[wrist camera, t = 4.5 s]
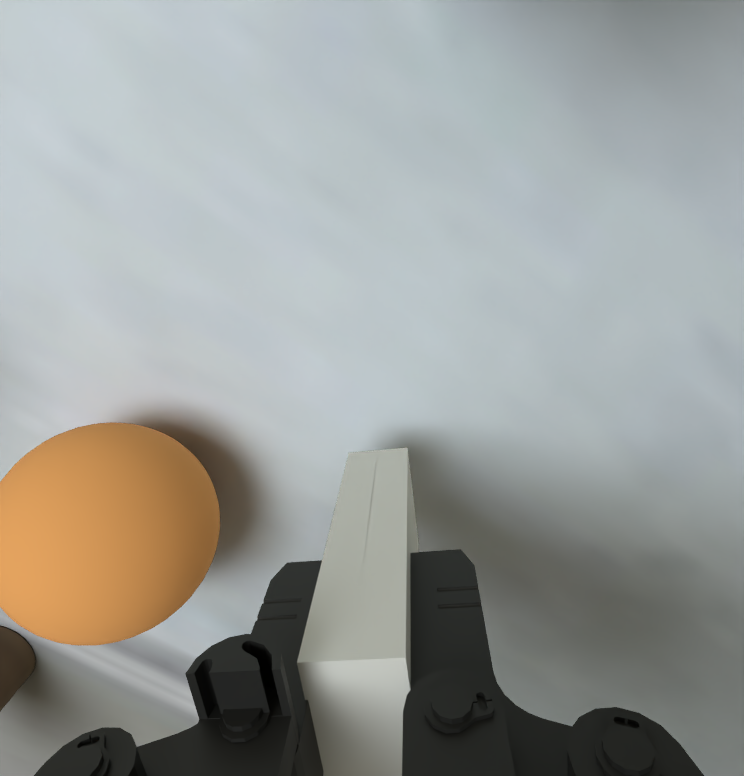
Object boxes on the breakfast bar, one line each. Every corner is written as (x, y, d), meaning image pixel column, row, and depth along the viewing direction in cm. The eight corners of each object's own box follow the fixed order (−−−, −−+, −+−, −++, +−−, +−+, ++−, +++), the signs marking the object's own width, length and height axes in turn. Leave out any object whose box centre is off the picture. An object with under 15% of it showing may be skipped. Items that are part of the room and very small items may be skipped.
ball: (-109, 469, 12) (102, 387, 17) (-27, 660, 14) (143, 538, 18) (47, 508, 10) (243, 400, 14) (122, 734, 11) (274, 572, 16)
